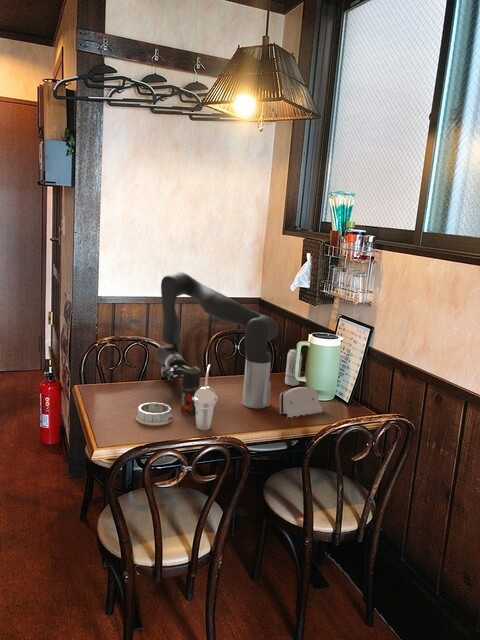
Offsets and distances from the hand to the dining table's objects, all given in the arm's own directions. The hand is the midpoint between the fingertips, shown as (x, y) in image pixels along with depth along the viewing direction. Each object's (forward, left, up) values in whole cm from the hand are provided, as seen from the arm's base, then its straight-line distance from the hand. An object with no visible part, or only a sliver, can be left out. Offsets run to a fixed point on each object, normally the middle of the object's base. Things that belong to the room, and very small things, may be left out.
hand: (184, 377), depth 198 cm
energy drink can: (-50, -15, -9) cm, 53 cm away
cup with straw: (-2, +24, -9) cm, 26 cm away
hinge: (-41, +14, -9) cm, 44 cm away
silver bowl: (+13, +16, -9) cm, 22 cm away
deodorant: (0, +11, -9) cm, 14 cm away
